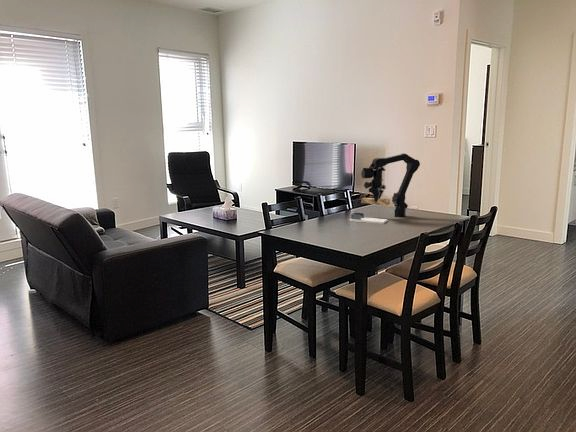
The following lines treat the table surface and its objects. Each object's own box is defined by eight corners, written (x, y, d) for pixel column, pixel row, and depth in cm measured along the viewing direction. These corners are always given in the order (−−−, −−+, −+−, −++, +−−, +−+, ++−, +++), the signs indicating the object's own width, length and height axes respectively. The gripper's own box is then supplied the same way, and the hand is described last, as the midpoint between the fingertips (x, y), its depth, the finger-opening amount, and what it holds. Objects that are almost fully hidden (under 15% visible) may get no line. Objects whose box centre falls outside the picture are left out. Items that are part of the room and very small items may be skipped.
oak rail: (389, 203, 301) (389, 199, 300) (387, 204, 298) (387, 200, 297) (363, 202, 310) (363, 197, 309) (361, 202, 306) (361, 198, 306)
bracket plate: (387, 221, 294) (387, 214, 294) (383, 223, 287) (383, 217, 286) (354, 218, 304) (354, 212, 303) (349, 221, 296) (349, 214, 296)
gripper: (369, 175, 312) (369, 198, 315) (361, 178, 295) (360, 203, 298) (386, 176, 307) (385, 199, 310) (378, 179, 290) (377, 204, 293)
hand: (377, 201), depth 303 cm, fingers closed on oak rail, 4 cm apart
